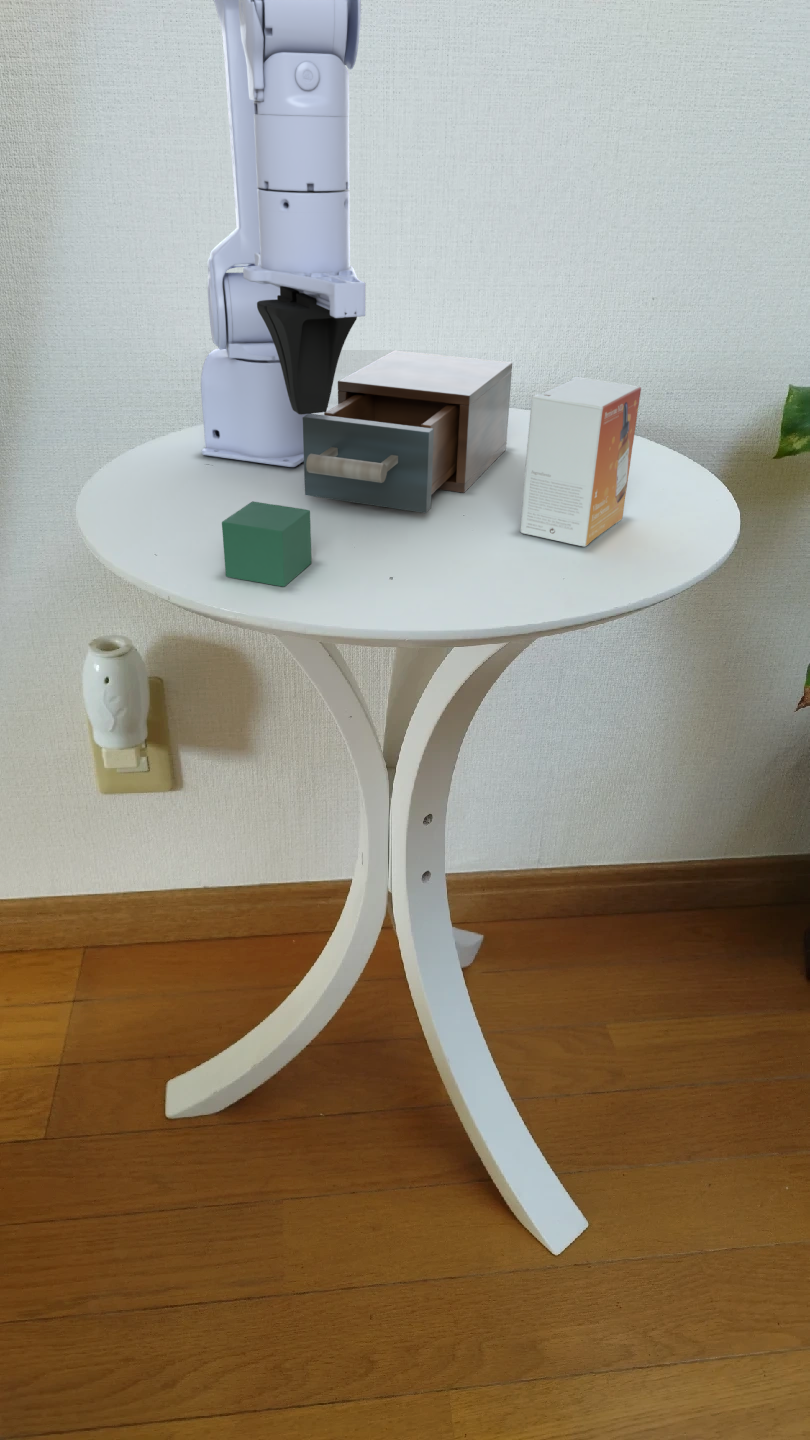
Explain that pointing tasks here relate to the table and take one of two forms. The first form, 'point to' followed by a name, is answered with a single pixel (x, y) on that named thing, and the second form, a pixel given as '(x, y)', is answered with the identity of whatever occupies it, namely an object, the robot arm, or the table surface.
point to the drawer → (381, 451)
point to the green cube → (267, 543)
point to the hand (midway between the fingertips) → (309, 411)
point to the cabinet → (447, 400)
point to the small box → (578, 459)
